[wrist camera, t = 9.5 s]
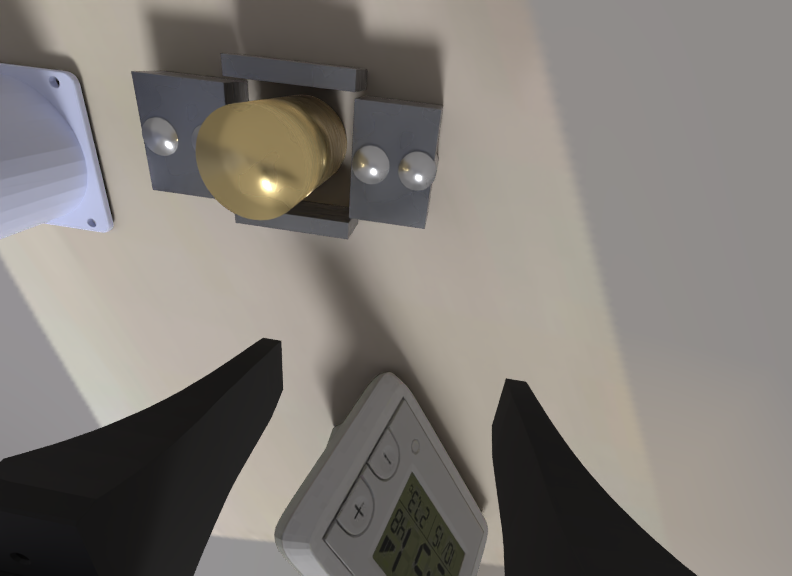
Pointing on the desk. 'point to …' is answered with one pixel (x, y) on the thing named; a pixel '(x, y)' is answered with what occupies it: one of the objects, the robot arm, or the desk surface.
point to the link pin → (269, 153)
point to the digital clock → (383, 498)
